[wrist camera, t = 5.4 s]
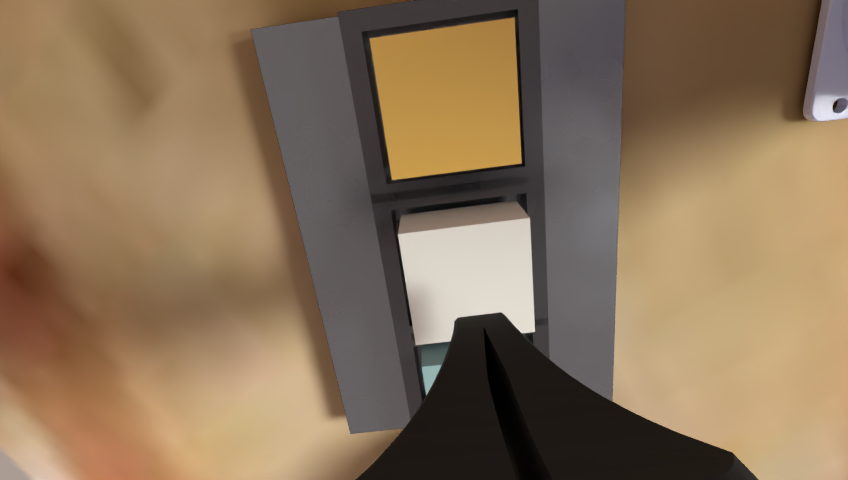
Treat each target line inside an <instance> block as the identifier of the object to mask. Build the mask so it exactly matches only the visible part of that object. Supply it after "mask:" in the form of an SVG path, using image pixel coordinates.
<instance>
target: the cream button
mask: <svg viewBox="0 0 848 480" xmlns="http://www.w3.org/2000/svg"><path fill="white" fill-rule="evenodd" d="M398 238H399V244H400V250H401V257H402V263H403V269H404V275H405V281H406V288H407V294H408V300H409V306H410V312H411V319H412V325H413V331H414V337H415V343H416V345H423V344H432V343H440V342H449V341H451V338H452V334H453V329H454V321H455V320H456V319H457V318H458V317H466V316H475V315H483V314H491V313H499V312H502V313H503V314H504V315H505V316H506V317H507V318H508V319H509V320H510V321H511V322H512V324H513V325H514V326H515V327H516V328H517V329H518V330H519V331H520V332H521V333H530V332H535V320H534V297H533V275H532V252H531V229H530V217H529V216H528V215H527V214H526V212H525V211H524V210H523V209H522V207H521V206H520V205H519V204H518V202H517V201H508V202H500V203H492V204H484V205H477V206H469V207H461V208H453V209H445V210H437V211H429V212H421V213H413V214H405V215H401V219H400V225H399V231H398Z"/></svg>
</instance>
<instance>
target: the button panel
mask: <svg viewBox="0 0 848 480" xmlns="http://www.w3.org/2000/svg"><path fill="white" fill-rule="evenodd" d="M625 2H626V0H415V1H408V2H401V3H394V4H388V5H381V6H374V7H367V8H361V9H354V10H347V11H340V12H337V14H338V17H332V18H325V19H318V20H311V21H305V22H298V23H291V24H284V25H278V26H271V27H264V28H257V29H251V33H252V37H253V41H254V45H255V49H256V53H257V57H258V61H259V65H260V69H261V73H262V77H263V81H264V85H265V89H266V93H267V97H268V101H269V106H270V110H271V114H272V118H273V122H274V126H275V130H276V134H277V138H278V142H279V146H280V150H281V154H282V158H283V162H284V166H285V170H286V174H287V178H288V183H289V187H290V191H291V195H292V199H293V203H294V207H295V211H296V215H297V219H298V223H299V227H300V231H301V235H302V239H303V243H304V247H305V251H306V255H307V260H308V264H309V268H310V272H311V276H312V280H313V284H314V288H315V292H316V296H317V300H318V304H319V308H320V312H321V316H322V320H323V324H324V328H325V333H326V337H327V341H328V345H329V349H330V353H331V357H332V361H333V365H334V369H335V373H336V377H337V381H338V385H339V389H340V393H341V397H342V401H343V405H344V410H345V414H346V418H347V422H348V426H349V430H350V434H354V433H364V432H373V431H383V430H393V429H402V428H405V427H406V425H407V424H408V422H409V421H410V420H411V418H412V417H413V415H414V414H415V413H416V411H417V410H418V408H419V407H420V405H421V403H422V402H423V400H424V399H425V397H426V391H425V384H424V378H423V372H422V346H423V345H432V344H441V343H450V341H449V342H440V343H432V344H423V345H416V343H415V337H414V331H413V325H412V319H411V312H410V306H409V300H408V294H407V288H406V281H405V275H404V269H403V263H402V257H401V250H400V244H399V238H398V231H399V225H400V219H401V215H405V214H413V213H421V212H429V211H437V210H445V209H453V208H461V207H469V206H477V205H484V204H492V203H500V202H508V201H517V202H518V204H519V205H520V206H521V207H522V209H523V210H524V211H525V212H526V214H527V215H528V216H529V217H530V229H531V252H532V275H533V297H534V320H535V332H530V333H522V334H523V335H524V336H525V337H526V338H527V339H528V340H529V341H530V342H531V343H532V344H533V345H534V346H535V347H536V348H538V349H539V350H540V351H541V352H542V353H543V354H544V355H545V356H546V357H548V358H549V359H550V360H551V361H552V362H554V363H555V364H556V365H557V366H559V367H560V368H561V369H562V370H564V371H565V372H566V373H568V374H569V375H570V376H572V377H573V378H575V379H576V380H578V381H579V382H581V383H582V384H584V385H585V386H587V387H588V388H590V389H591V390H593V391H595V392H596V393H598V394H600V395H601V396H603V397H605V398H607V399H608V400H610V401H612V396H613V365H614V335H615V305H616V275H617V244H618V214H619V184H620V154H621V123H622V93H623V63H624V33H625ZM514 17H515V37H516V58H517V78H518V99H519V119H520V139H521V160H522V163H521V164H513V165H506V166H498V167H490V168H482V169H475V170H467V171H459V172H451V173H444V174H436V175H428V176H421V177H413V178H405V179H397V180H392V177H391V170H390V164H389V158H388V152H387V145H386V139H385V133H384V126H383V120H382V114H381V108H380V101H379V95H378V89H377V82H376V76H375V70H374V63H373V57H372V51H371V45H370V38H376V37H383V36H389V35H396V34H403V33H410V32H417V31H424V30H431V29H438V28H445V27H452V26H459V25H466V24H472V23H479V22H486V21H493V20H500V19H507V18H514Z"/></svg>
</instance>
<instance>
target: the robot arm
mask: <svg viewBox="0 0 848 480" xmlns="http://www.w3.org/2000/svg"><path fill="white" fill-rule="evenodd" d="M836 100H837V103H838V104H837V106H836V108H835V109H834V110H833V109H832V106H833V104H834V102H835V101H836ZM803 115H804V117H805V118H806V119H807V120H809V121H819V122H823V121H831V120H839V119H846V118H848V0H822V4H821V10H820V15H819V21H818V27H817V32H816V38H815V44H814V49H813V55H812V61H811V66H810V72H809V78H808V83H807V89H806V95H805V100H804V106H803ZM356 480H758V479H757V478H756V477H755V475H754V474H753V473H752V472H751V471H750V470H749V469H748V468H747V467H746V466H745V465H744V464H743V463H742V462H741V461H740V460H739V459H738V458H737V457H736V456H735V455H734V454H733V453H732V452H729V451H726V450H724V449H721V448H718V447H715V446H713V445H710V444H707V443H704V442H702V441H699V440H696V439H693V438H691V437H688V436H685V435H682V434H680V433H677V432H675V431H672V430H670V429H668V428H666V427H663V426H661V425H659V424H657V423H654V422H652V421H650V420H647V419H645V418H643V417H641V416H639V415H637V414H635V413H633V412H631V411H629V410H627V409H625V408H623V407H621V406H619V405H618V404H616V403H614V402H612V401H610V400H608V399H607V398H605V397H603V396H601V395H600V394H598V393H596V392H595V391H593V390H591V389H590V388H588V387H587V386H585V385H584V384H582V383H581V382H579V381H578V380H576V379H575V378H573V377H572V376H570V375H569V374H568V373H566V372H565V371H564V370H562V369H561V368H560V367H559V366H557V365H556V364H555V363H554V362H552V361H551V360H550V359H549V358H548V357H546V356H545V355H544V354H543V353H542V352H541V351H540V350H539V349H538V348H536V347H535V346H534V345H533V344H532V343H531V342H530V341H529V340H528V339H527V338H526V337H525V336H524V335H523V334H522V333H521V332H520V331H519V330H518V329H517V328H516V327H515V326H514V325H513V324H512V322H511V321H510V320H509V319H508V318H507V317H506V316H505V315H504V314H503V313H502V312H499V313H491V314H483V315H475V316H466V317H458V318H457V319H456V320H455V321H454V329H453V334H452V338H451V341H450V345H449V348H448V350H447V353H446V356H445V358H444V361H443V363H442V366H441V368H440V370H439V372H438V374H437V376H436V378H435V380H434V383H433V384H432V386H431V388H430V390H429V392H428V393H427V395H426V397H425V399H424V400H423V402H422V403H421V405H420V407H419V408H418V410H417V411H416V413H415V414H414V415H413V417H412V418H411V420H410V421H409V422H408V424H407V425H406V427H405V428H404V429H403V430H402V432H401V433H400V434H399V435H398V437H397V438H396V439H395V440H394V441H393V442H392V443H391V445H390V446H389V447H388V448H387V449H386V450H385V451H384V452H383V454H382V455H381V456H380V457H379V458H378V459H377V460H376V461H375V462H374V463H373V464H372V465H371V466H370V467H369V468H368V469H367V470H366V471H365V472H364V473H363V474H362V475H360V476H359V477H358V478H357V479H356Z"/></svg>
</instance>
